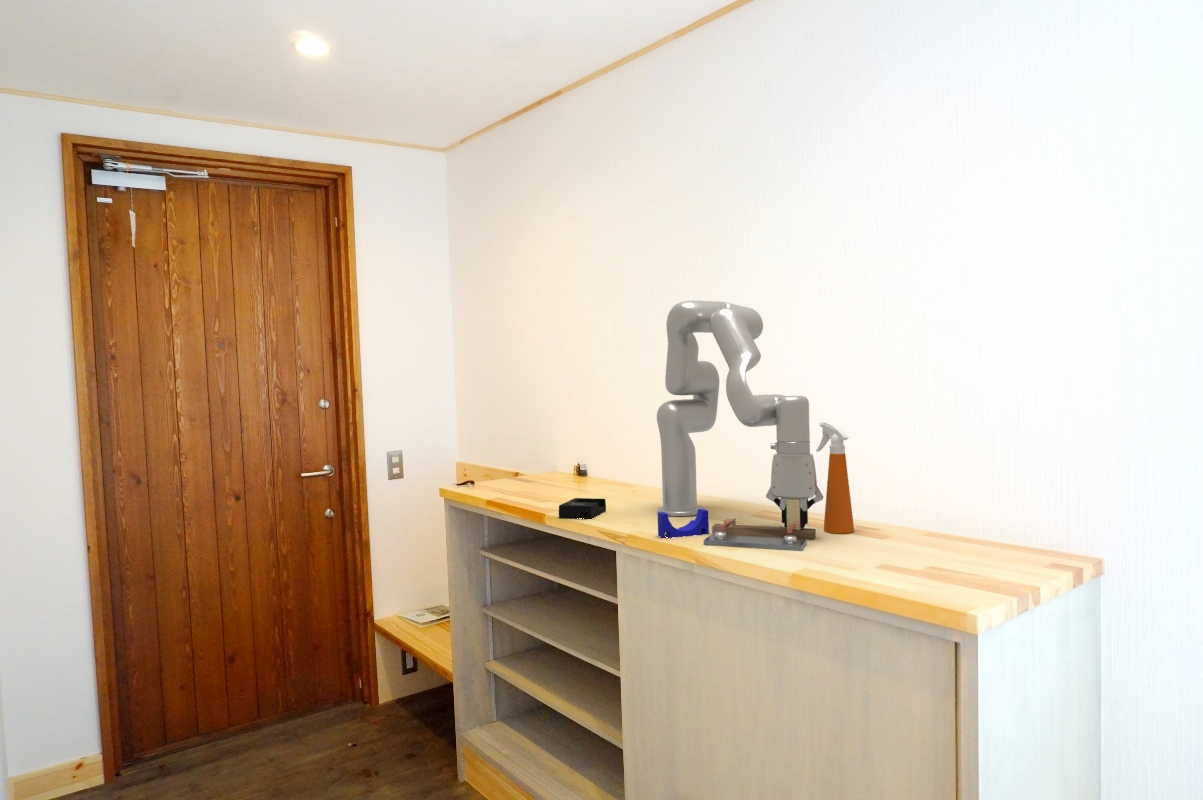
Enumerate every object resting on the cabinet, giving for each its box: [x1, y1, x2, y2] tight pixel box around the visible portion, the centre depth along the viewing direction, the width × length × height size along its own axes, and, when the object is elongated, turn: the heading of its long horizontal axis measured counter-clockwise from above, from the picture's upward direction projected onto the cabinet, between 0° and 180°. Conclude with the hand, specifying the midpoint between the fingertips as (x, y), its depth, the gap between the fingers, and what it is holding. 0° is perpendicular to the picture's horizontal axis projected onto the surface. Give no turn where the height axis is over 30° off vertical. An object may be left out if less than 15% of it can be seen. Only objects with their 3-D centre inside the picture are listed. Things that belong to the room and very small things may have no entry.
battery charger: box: [558, 497, 607, 520], centre depth 221 cm, size 13×10×4 cm
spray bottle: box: [815, 421, 855, 535], centre depth 190 cm, size 7×11×26 cm, turn 25°
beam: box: [711, 516, 817, 541], centre depth 184 cm, size 10×24×4 cm, turn 67°
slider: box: [786, 498, 802, 533], centre depth 181 cm, size 10×3×7 cm, turn 157°
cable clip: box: [657, 508, 710, 539], centre depth 190 cm, size 12×4×6 cm, turn 107°
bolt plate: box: [703, 532, 808, 552], centre depth 178 cm, size 7×22×2 cm, turn 67°
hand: (794, 525), depth 183 cm, fingers closed on slider, 3 cm apart
